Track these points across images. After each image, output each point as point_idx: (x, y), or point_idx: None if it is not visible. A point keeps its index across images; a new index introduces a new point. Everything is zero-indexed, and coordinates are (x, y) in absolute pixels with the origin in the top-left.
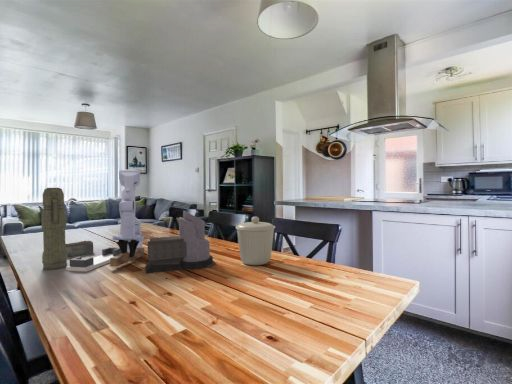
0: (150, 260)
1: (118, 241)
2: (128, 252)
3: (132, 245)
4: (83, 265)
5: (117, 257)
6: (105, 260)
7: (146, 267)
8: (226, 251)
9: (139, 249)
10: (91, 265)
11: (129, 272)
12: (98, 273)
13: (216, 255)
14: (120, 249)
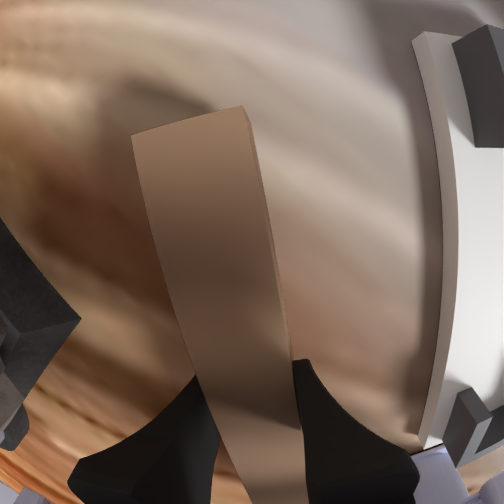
0: (16, 330)
1: (411, 497)
2: (254, 414)
3: (101, 452)
4: (467, 40)
5: (159, 171)
6: (464, 280)
7: (23, 269)
8: (55, 500)
9: (249, 491)
10: (457, 105)
11: (53, 152)
12: (266, 22)
13: (31, 470)
14: (336, 403)
